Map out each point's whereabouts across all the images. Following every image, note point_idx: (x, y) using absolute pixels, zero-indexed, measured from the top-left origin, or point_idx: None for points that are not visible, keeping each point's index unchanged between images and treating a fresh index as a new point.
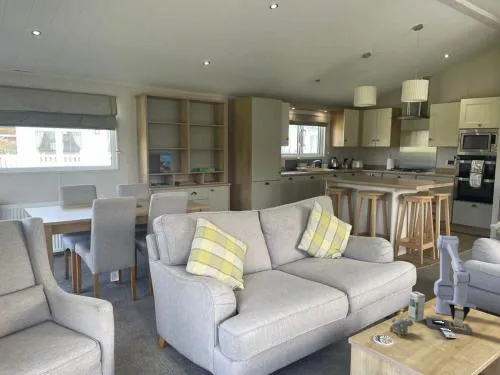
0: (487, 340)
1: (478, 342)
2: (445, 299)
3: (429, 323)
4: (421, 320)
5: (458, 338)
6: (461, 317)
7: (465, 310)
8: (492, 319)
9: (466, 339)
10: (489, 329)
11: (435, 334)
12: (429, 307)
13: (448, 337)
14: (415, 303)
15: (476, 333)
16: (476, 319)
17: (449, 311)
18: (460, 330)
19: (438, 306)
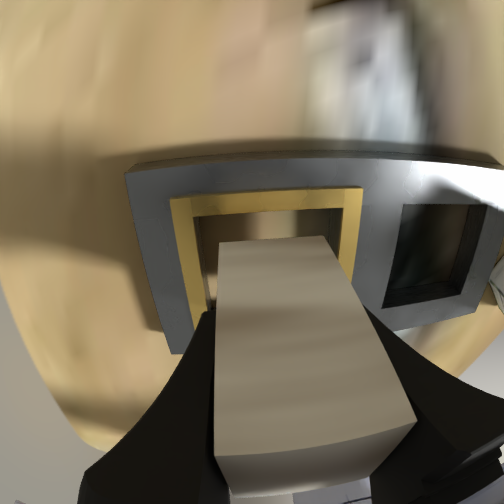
0: (12, 142)
1: (76, 35)
2: (340, 502)
3: (502, 204)
4: (498, 264)
5: (277, 11)
6: (251, 334)
7: (175, 500)
8: (84, 432)
9: (188, 27)
10: (48, 345)
11: (470, 46)
12: None
13: (377, 4)
14: None
15: (94, 240)
16: None
17: None
18: (247, 161)
19: None
